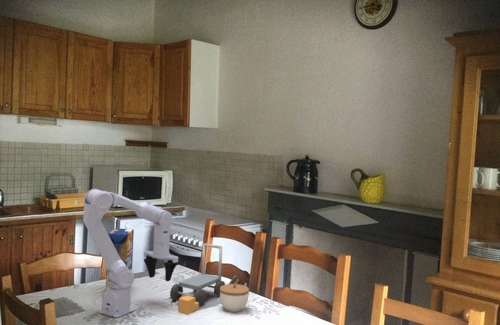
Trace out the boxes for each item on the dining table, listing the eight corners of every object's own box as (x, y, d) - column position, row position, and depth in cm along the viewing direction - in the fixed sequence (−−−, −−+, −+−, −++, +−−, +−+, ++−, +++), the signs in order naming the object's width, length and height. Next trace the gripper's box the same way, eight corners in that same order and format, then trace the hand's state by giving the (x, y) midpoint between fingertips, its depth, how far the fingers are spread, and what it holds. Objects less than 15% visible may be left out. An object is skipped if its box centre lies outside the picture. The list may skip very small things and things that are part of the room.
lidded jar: (244, 315, 167) (246, 289, 166) (215, 312, 169) (216, 286, 168) (250, 306, 177) (251, 281, 177) (223, 302, 179) (224, 278, 179)
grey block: (236, 301, 183) (250, 276, 190) (220, 294, 185) (235, 269, 192) (237, 311, 190) (251, 287, 197) (222, 304, 193) (237, 279, 199)
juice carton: (124, 296, 181) (127, 234, 180) (105, 295, 181) (107, 233, 180) (131, 287, 193) (133, 229, 192) (113, 286, 193) (115, 228, 192)
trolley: (195, 308, 172) (198, 254, 171) (169, 301, 178) (172, 250, 177) (224, 294, 189) (227, 246, 189) (200, 288, 195) (202, 241, 195)
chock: (187, 314, 165) (187, 300, 165) (178, 312, 167) (178, 298, 167) (198, 309, 171) (199, 295, 171) (189, 307, 173) (190, 293, 173)
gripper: (183, 243, 174) (182, 279, 174) (153, 238, 181) (151, 273, 181) (171, 246, 168) (170, 284, 168) (140, 240, 175) (139, 277, 175)
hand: (159, 278), depth 174 cm, fingers open, 7 cm apart
